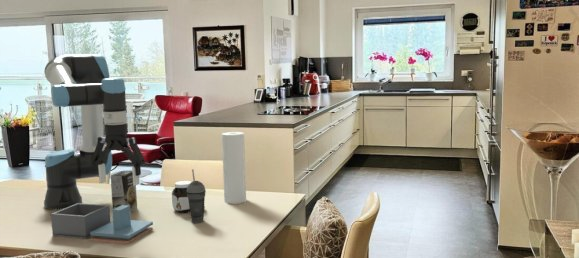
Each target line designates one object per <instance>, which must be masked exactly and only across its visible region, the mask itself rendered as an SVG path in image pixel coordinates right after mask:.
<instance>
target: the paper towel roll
mask: <svg viewBox="0 0 579 258" xmlns="http://www.w3.org/2000/svg"><path fill="white" fill-rule="evenodd" d="M221 146H222V147H221V149H222V171H223V172H222V175H223V199H224V203H226V204H228V205H229V204H233V205H234V204H235V205H236V204H237V205H238V204H242V203H246V201H247V186H246V184H247V183H246V182H247V181H246V161H245V160H246V158H245V157H246V154H245V132H243V131H228V132H222V133H221Z"/></svg>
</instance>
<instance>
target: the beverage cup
mask: <svg viewBox="0 0 579 258" xmlns="http://www.w3.org/2000/svg"><path fill="white" fill-rule="evenodd" d="M191 172H192V178H193V179H192V180H193V181H191V183H190V184H189V185H188V187H187V192H186V193H187V197H188V201H189V208H190V212H189V215H190V219H191V221H190V222H191V223H193V224H201V223H203V222H204V218H205V208H204V206H205V197H206V193H207V192H206V187H205V185H204V183H203V182H201V181H199V180H196V177H195V172H194V169H191Z"/></svg>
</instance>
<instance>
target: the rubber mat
mask: <svg viewBox="0 0 579 258" xmlns="http://www.w3.org/2000/svg"><path fill="white" fill-rule="evenodd" d="M151 229H152V230H153V227H152V226H149V227H148V228H146V229H145V230H143V231H142V232H140V233H138V234H137V235H135V236H133V237H131V238H130V239H128V240H126V239H114V238H102V237H98V236H95V237H92V238H91V241H94V242H103V243H111V244H124V245H127V244H130V243H131V242H133V241H134V240H137V239H138V238H139V237H141V236H143V235H145V234H146V233H148V232H150V231H151Z"/></svg>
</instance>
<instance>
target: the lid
mask: <svg viewBox="0 0 579 258" xmlns="http://www.w3.org/2000/svg"><path fill="white" fill-rule="evenodd" d="M111 211H112V221H111V222H110V223H108V224H106V225H104V226H102V227H100V228H98V229H96V230H94V231H92V232H90V235H93V236H95V237H96V236H98V237H102V238H114V239H126V240H128V239H130V238H131V237H133V236H135V235H137V234H138V233H140V232H142V231H143V230H145V229H146V228H148V227H152V226H153V225H154V221H145V220H134V219H133V220H132V219H131V213H130V206H129V205H122V206H119V207H117V208H115V209H113V208H112V210H111Z"/></svg>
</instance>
